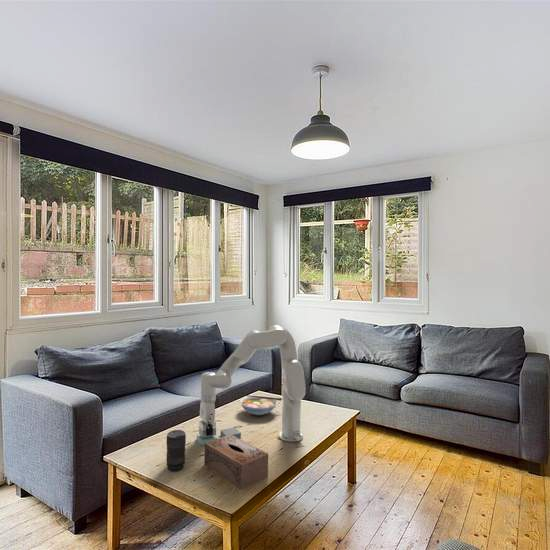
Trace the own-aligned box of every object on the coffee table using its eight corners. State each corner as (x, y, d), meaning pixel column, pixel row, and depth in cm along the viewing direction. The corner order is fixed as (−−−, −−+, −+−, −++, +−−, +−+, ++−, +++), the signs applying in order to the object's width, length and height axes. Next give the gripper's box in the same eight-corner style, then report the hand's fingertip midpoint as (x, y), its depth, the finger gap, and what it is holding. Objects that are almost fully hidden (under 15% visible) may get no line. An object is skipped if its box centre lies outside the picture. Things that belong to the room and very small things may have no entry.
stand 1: (217, 442, 193) (217, 437, 193) (201, 446, 189) (201, 440, 189) (211, 436, 200) (211, 431, 200) (196, 439, 196) (196, 434, 196)
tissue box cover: (267, 477, 163) (268, 453, 163) (241, 490, 153) (242, 465, 153) (229, 455, 181) (230, 434, 181) (204, 465, 171) (204, 443, 171)
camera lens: (162, 467, 168) (163, 433, 168) (178, 461, 174) (179, 428, 174) (171, 474, 162) (172, 439, 162) (188, 468, 168) (189, 433, 168)
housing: (202, 437, 190) (202, 424, 190) (198, 433, 195) (199, 421, 195) (215, 434, 194) (216, 422, 194) (212, 430, 199) (212, 418, 199)
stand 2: (240, 437, 200) (240, 433, 200) (226, 440, 196) (226, 435, 196) (234, 432, 207) (234, 427, 206) (220, 434, 203) (220, 430, 202)
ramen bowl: (231, 417, 227) (232, 403, 227) (245, 404, 249) (246, 391, 249) (272, 423, 220) (272, 409, 220) (283, 409, 242) (283, 396, 242)
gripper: (195, 393, 200) (194, 428, 200) (206, 403, 185) (206, 441, 185) (209, 391, 204) (208, 425, 204) (221, 401, 189) (220, 438, 189)
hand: (207, 432), depth 195 cm, fingers closed on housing, 5 cm apart
